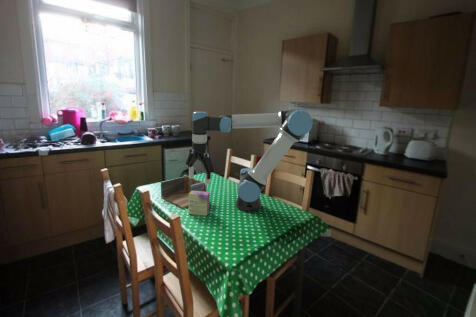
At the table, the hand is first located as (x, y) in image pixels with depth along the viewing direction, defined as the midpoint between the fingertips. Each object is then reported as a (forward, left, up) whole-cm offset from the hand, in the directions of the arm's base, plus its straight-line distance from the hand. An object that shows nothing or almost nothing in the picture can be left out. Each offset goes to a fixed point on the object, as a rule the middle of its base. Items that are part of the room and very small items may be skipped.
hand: (199, 181), depth 136 cm
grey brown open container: (+21, -5, -18) cm, 28 cm away
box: (0, 0, -19) cm, 19 cm away
